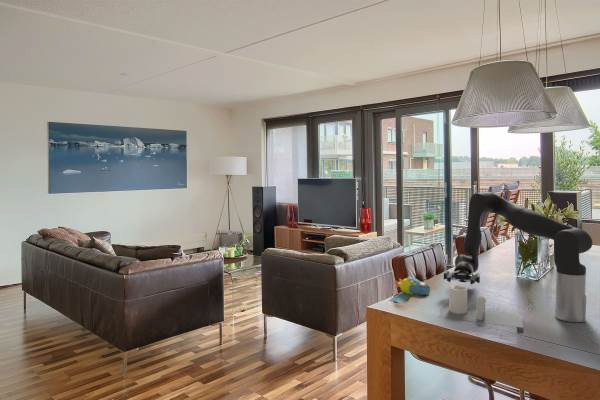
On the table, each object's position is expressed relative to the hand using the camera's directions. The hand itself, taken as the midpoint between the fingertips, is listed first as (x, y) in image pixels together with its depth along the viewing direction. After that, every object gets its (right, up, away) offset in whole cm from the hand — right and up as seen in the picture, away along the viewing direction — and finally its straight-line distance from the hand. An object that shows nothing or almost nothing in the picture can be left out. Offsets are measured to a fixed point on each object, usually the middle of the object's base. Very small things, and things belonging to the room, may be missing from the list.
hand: (460, 280), depth 177 cm
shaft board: (+2, -12, -16) cm, 19 cm away
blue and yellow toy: (-15, -10, +17) cm, 25 cm away
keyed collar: (-4, -10, -10) cm, 14 cm away
